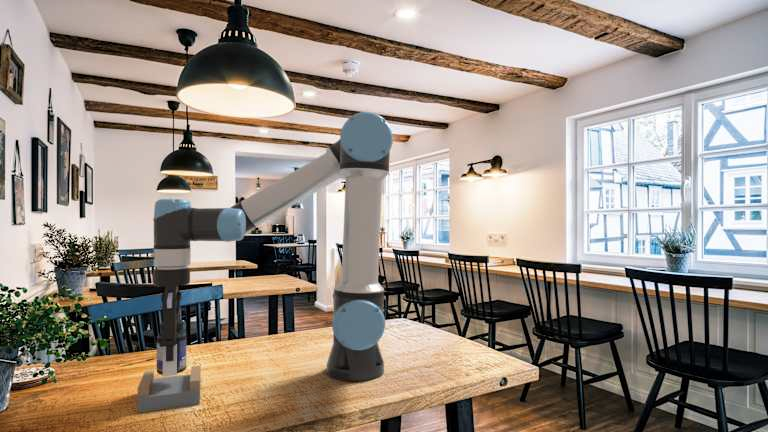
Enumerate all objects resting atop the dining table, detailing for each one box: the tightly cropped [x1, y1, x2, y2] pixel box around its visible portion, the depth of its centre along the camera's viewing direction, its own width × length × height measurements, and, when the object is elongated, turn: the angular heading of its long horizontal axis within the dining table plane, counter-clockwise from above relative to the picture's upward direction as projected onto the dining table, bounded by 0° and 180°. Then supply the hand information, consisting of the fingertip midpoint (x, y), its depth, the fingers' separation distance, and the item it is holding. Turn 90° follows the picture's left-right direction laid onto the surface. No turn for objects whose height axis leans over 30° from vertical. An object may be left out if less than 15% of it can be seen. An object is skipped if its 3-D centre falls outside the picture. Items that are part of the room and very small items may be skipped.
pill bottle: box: [156, 319, 187, 376], centre depth 102 cm, size 6×6×11 cm
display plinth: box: [136, 365, 202, 414], centre depth 102 cm, size 12×12×5 cm
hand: (170, 370), depth 102 cm, fingers closed on pill bottle, 6 cm apart
